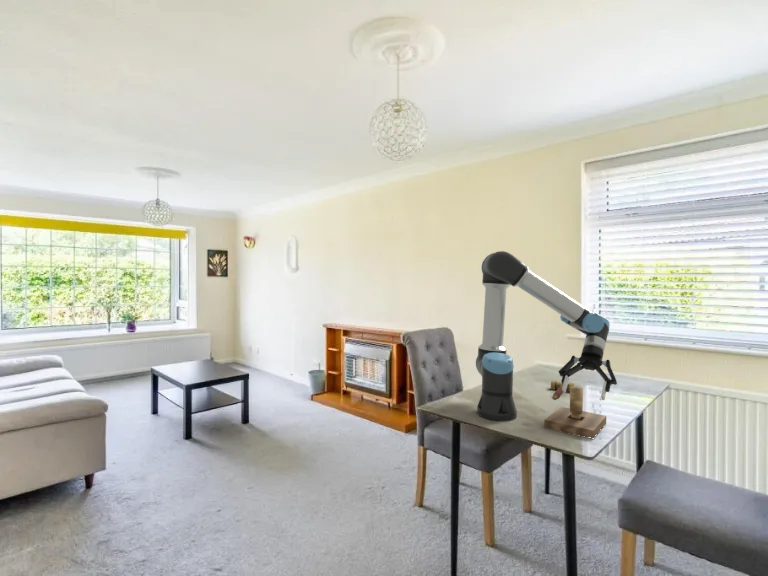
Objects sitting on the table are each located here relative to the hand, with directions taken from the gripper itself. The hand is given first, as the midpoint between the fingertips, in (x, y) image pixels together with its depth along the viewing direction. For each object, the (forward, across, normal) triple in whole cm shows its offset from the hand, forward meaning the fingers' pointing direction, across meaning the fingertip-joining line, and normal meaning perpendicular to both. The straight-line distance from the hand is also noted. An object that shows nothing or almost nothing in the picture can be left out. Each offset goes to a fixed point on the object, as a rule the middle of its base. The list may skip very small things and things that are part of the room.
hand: (582, 394), depth 150 cm
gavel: (-16, +19, -32) cm, 40 cm away
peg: (+12, +1, -3) cm, 12 cm away
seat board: (+12, +1, -3) cm, 12 cm away
